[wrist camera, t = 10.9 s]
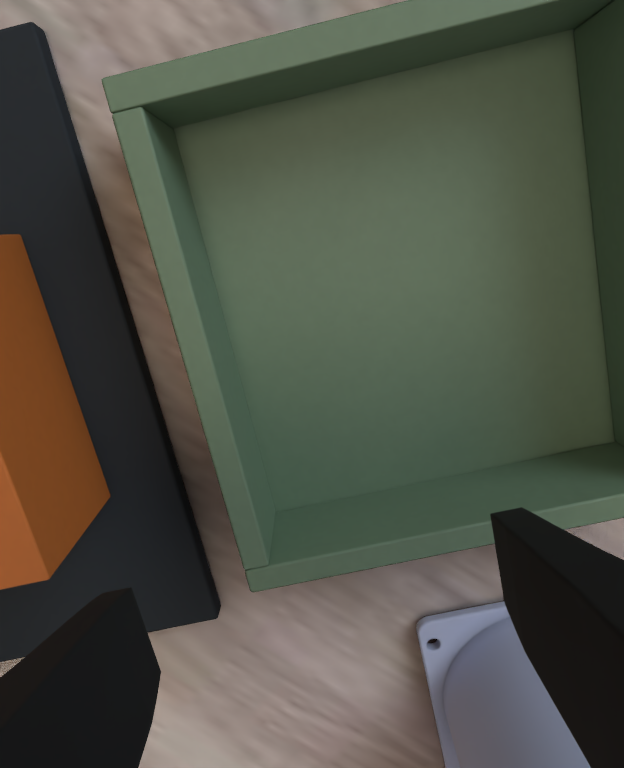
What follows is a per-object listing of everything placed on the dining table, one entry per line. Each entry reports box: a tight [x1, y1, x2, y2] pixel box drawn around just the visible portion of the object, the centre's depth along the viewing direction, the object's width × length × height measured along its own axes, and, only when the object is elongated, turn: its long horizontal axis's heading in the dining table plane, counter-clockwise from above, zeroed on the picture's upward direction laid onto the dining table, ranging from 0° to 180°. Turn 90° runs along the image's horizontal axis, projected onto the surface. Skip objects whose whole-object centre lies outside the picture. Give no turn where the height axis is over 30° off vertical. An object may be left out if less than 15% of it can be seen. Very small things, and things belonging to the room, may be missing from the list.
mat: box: [0, 22, 221, 662], centre depth 20 cm, size 20×9×1 cm, turn 13°
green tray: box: [102, 0, 624, 592], centre depth 17 cm, size 15×14×4 cm
